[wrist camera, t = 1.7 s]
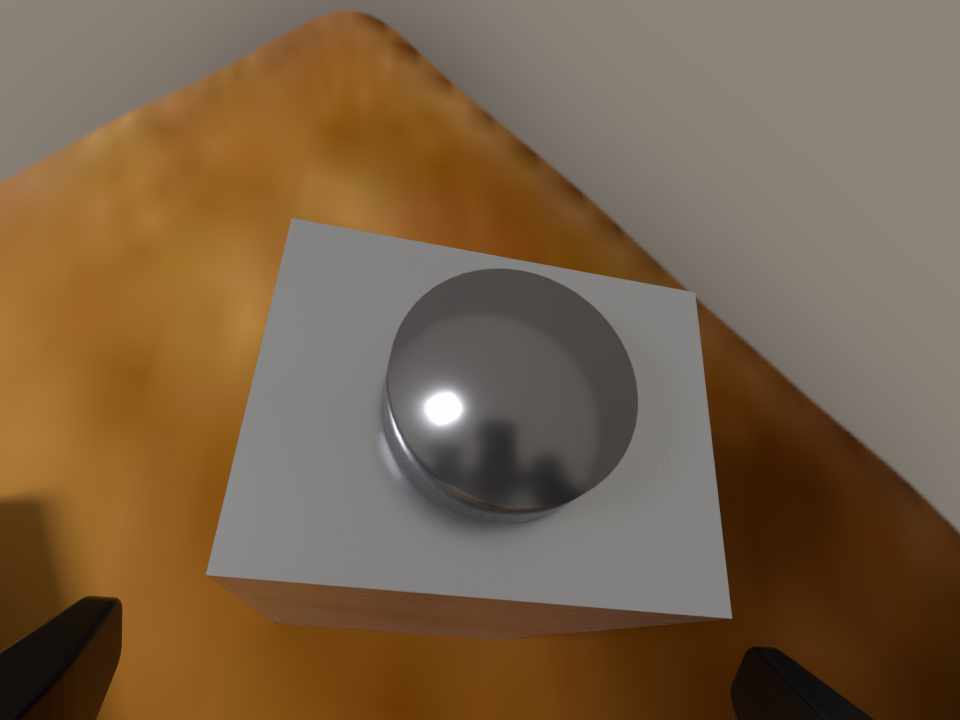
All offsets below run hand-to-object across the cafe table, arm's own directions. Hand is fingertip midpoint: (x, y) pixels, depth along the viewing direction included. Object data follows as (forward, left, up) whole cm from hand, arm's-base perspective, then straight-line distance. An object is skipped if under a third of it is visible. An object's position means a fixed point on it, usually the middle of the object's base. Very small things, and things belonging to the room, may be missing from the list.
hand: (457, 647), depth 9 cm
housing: (+2, -2, -10) cm, 11 cm away
